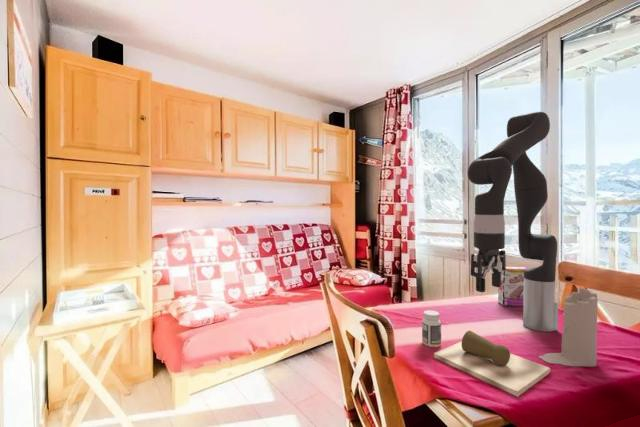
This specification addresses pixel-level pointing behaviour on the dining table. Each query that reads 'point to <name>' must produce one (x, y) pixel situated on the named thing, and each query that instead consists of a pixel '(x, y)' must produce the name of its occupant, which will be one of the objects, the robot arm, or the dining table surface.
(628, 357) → the dining table surface
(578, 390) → the dining table surface
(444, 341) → the dining table surface
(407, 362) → the dining table surface
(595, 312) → the candle
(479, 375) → the birch board
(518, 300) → the candy bar box
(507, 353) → the cork
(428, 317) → the pill bottle
